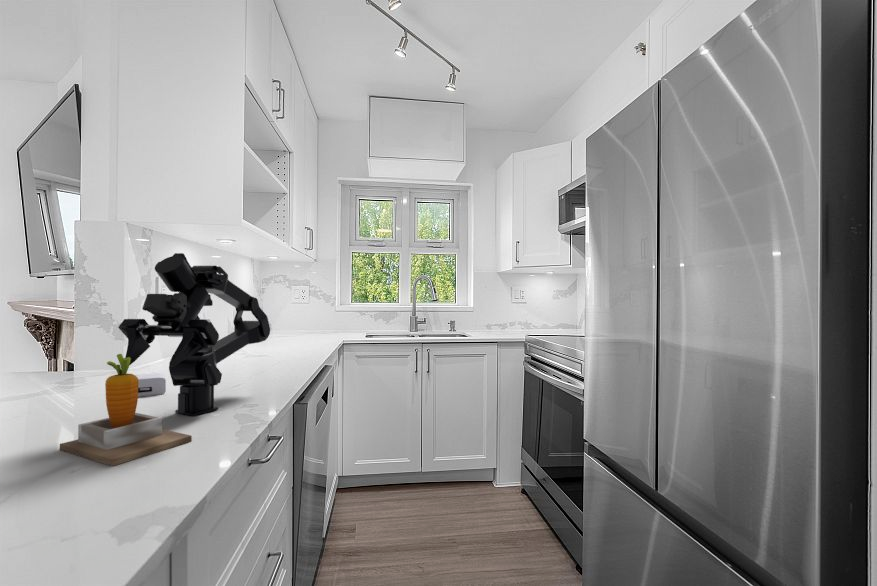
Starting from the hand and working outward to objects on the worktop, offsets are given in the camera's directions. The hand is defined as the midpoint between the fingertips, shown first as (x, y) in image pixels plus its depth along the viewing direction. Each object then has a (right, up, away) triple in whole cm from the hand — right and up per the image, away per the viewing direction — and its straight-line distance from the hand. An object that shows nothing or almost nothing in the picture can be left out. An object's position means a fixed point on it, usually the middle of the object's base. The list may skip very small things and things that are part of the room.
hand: (148, 364), depth 84 cm
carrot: (0, -12, -6) cm, 14 cm away
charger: (-25, -14, +36) cm, 47 cm away
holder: (+1, -13, -8) cm, 15 cm away
